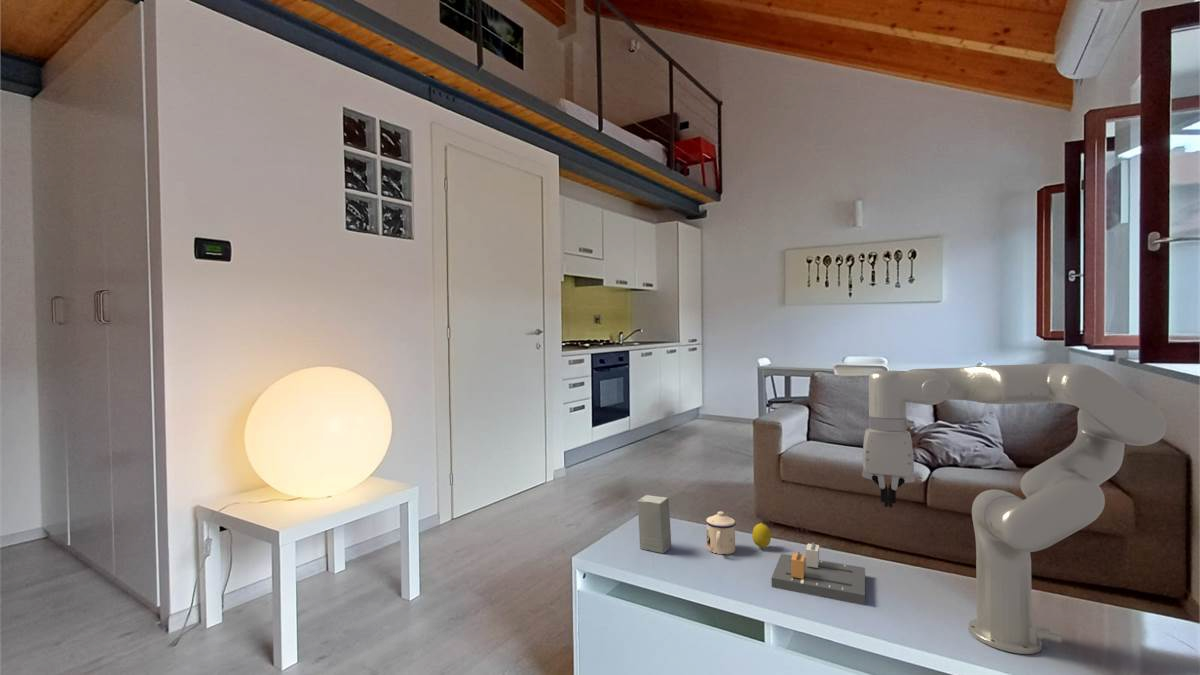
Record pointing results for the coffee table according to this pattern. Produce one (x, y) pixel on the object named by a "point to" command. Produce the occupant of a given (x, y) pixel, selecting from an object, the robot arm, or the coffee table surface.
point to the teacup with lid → (720, 534)
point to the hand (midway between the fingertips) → (888, 505)
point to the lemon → (761, 535)
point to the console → (823, 580)
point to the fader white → (812, 555)
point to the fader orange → (798, 565)
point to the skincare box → (654, 523)
